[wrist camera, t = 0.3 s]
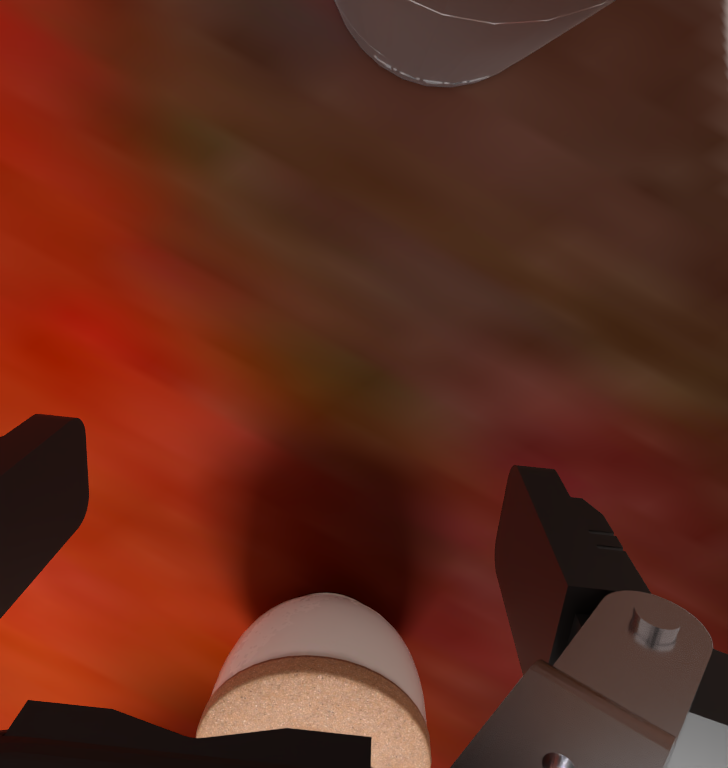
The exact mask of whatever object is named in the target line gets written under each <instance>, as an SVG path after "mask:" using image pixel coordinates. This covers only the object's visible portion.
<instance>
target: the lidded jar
mask: <svg viewBox="0 0 728 768" xmlns="http://www.w3.org/2000/svg"><path fill="white" fill-rule="evenodd" d="M282 728H293V729H302V730H311V731H321V732H330V733H339V734H349V735H358V736H367V737H372V740H371V767H373V768H431V749H430V738H429V732H428V729H427V725H426V714H425V705H424V697H423V692H422V687H421V683H420V679H419V676H418V673H417V669H416V667H415V664H414V661H413V658H412V656H411V654H410V652H409V650H408V648H407V646H406V644H405V643H404V641H403V639H402V638H401V636H400V635H399V634H398V632H397V631H396V630H395V629H394V627H393V626H392V625H391V624H390V623H389V622H388V621H386V620H385V619H384V618H383V617H382V616H381V615H380V614H379V613H377V612H376V611H374V610H373V609H371V608H370V607H368V606H366V605H363V604H362V603H360V602H359V601H357V600H355V599H353V598H351V597H348V596H345V595H342V594H337V593H327V592H324V593H314V594H308V595H305V596H303V597H298V598H294V599H291V600H288V601H285V602H283V603H281V604H279V605H277V606H275V607H274V608H272V609H270V610H268V611H267V612H266V613H264V614H263V615H262V616H260V617H259V618H258V619H257V620H256V621H255V622H254V623H253V624H252V625H251V626H250V627H249V628H248V629H247V630H246V631H245V632H244V633H243V634H242V635H241V637H240V638H239V640H238V641H237V643H236V644H235V646H234V647H233V649H232V651H231V652H230V654H229V655H228V657H227V659H226V661H225V663H224V665H223V667H222V669H221V671H220V673H219V676H218V678H217V681H216V684H215V686H214V689H213V692H212V694H211V697H210V700H209V701H208V703H207V704H206V707H205V709H204V712H203V714H202V717H201V719H200V722H199V725H198V728H197V731H196V738H206V737H214V736H223V735H231V734H240V733H248V732H257V731H265V730H274V729H282Z"/></svg>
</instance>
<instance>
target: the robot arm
mask: <svg viewBox="0 0 728 768" xmlns="http://www.w3.org/2000/svg"><path fill="white" fill-rule="evenodd" d="M334 1H335V3H336V6H337V8H338V10H339V12H340V14H341V17H342V19H343V21H344V23H345V26H346V27H347V29H348V30H349V32H350V33H351V34H352V36H353V37H354V39H355V40H356V42H357V43H358V44H359V46H360V47H361V49H362V50H364V51H365V52H366V53H367V54H368V55H369V56H370V57H371V58H372V59H373V60H374V61H376V62H377V63H378V64H379V65H380V66H381V67H383V68H385V69H386V70H388V71H390V72H391V73H393V74H395V75H397V76H398V77H400V78H402V79H405V80H408V81H411V82H415V83H418V84H421V85H425V86H436V87H455V86H461V85H467V84H472V83H477V82H479V81H481V80H484V79H487V78H489V77H491V76H493V75H496V74H498V73H500V72H502V71H503V70H505V69H506V68H508V67H510V66H511V65H513V64H514V63H516V62H518V61H520V60H521V59H523V58H525V57H526V56H528V55H530V54H531V53H533V52H534V51H536V50H538V49H539V48H541V47H542V46H544V45H546V44H547V43H549V42H550V41H552V40H553V39H555V38H557V37H558V36H560V35H561V34H563V33H565V32H566V31H568V30H569V29H571V28H572V27H574V26H576V25H577V24H579V23H580V22H582V21H584V20H585V19H587V18H588V17H590V16H592V15H593V14H595V13H596V12H598V11H599V10H601V9H603V8H604V7H606V6H607V5H609V4H611V3H612V2H614V1H615V0H334ZM88 501H89V486H88V468H87V451H86V434H85V427H84V424H83V422H82V421H81V420H80V419H79V418H72V417H62V416H53V415H43V414H35V415H33V416H32V417H30V418H29V419H27V420H26V421H24V422H23V423H22V424H20V425H19V426H17V427H16V428H14V429H13V430H12V431H10V432H9V433H7V434H6V435H4V436H2V437H0V618H1V617H2V616H3V615H4V614H5V613H6V611H7V610H8V609H9V608H10V607H11V606H12V604H13V603H14V602H15V601H16V600H17V599H18V597H19V596H20V595H21V594H22V593H23V592H24V590H25V589H26V588H27V587H28V586H29V585H30V583H31V582H32V581H33V580H34V579H35V578H36V577H37V575H38V574H39V573H40V572H41V571H42V570H43V568H44V567H45V566H46V565H47V564H48V563H49V561H50V560H51V559H52V558H53V557H54V556H55V554H56V553H57V552H58V551H59V550H60V549H61V547H62V546H63V545H64V544H65V543H66V542H67V540H68V539H69V538H70V537H71V536H72V535H73V533H74V532H75V531H76V530H77V529H78V528H79V526H80V525H81V523H82V521H83V519H84V517H85V514H86V511H87V506H88ZM495 569H496V574H497V578H498V582H499V585H500V589H501V593H502V597H503V601H504V604H505V608H506V612H507V616H508V620H509V623H510V627H511V631H512V635H513V639H514V642H515V646H516V650H517V654H518V658H519V661H520V665H521V669H522V673H523V677H522V678H521V679H520V681H519V682H518V683H517V684H516V686H515V687H514V688H513V689H512V691H511V692H510V693H509V695H508V696H507V697H506V698H505V700H504V701H503V702H502V703H501V705H500V706H499V707H498V708H497V710H496V711H495V712H494V713H493V715H492V716H491V717H490V718H489V720H488V721H487V722H486V723H485V725H484V726H483V727H482V728H481V730H480V731H479V732H478V733H477V735H476V736H475V737H474V738H473V740H472V741H471V742H470V744H469V745H468V746H467V747H466V749H465V750H464V751H463V752H462V754H461V755H460V756H459V757H458V759H457V760H456V761H455V762H454V764H453V765H452V766H451V767H450V768H728V654H725V653H722V652H719V651H717V650H715V649H713V644H712V640H711V637H710V635H709V633H708V632H707V630H706V629H705V627H704V626H703V625H702V624H701V623H700V622H699V621H698V620H697V619H696V618H695V617H694V616H693V615H691V614H690V613H689V612H687V611H686V610H684V609H683V608H681V607H680V606H678V605H676V604H674V603H672V602H670V601H668V600H666V599H663V598H661V597H658V596H655V595H652V594H651V593H650V591H649V589H648V588H647V586H646V584H645V583H644V581H643V580H642V578H641V576H640V575H639V573H638V571H637V570H636V568H635V567H634V565H633V563H632V562H631V560H630V558H629V557H628V555H627V553H626V552H625V551H623V547H622V545H621V544H620V542H619V540H618V539H617V537H616V536H614V532H613V531H612V529H611V527H610V526H609V524H608V522H607V521H606V519H605V518H604V516H603V515H602V514H601V513H600V512H599V511H597V510H596V509H595V508H593V507H592V506H591V505H590V504H588V503H587V502H586V501H585V500H583V499H582V498H573V497H570V496H569V494H568V492H567V490H566V488H565V487H564V485H563V483H562V481H561V479H560V477H559V476H558V474H557V472H556V471H555V470H554V469H546V468H536V467H527V466H517V465H514V466H513V467H512V468H511V470H510V473H509V476H508V481H507V486H506V491H505V496H504V501H503V506H502V511H501V516H500V521H499V526H498V531H497V537H496V543H495ZM371 740H372V737H367V736H358V735H349V734H339V733H330V732H321V731H311V730H302V729H293V728H282V729H274V730H265V731H257V732H248V733H240V734H231V735H223V736H214V737H206V738H190V737H186V736H183V735H180V734H178V733H175V732H172V731H170V730H167V729H164V728H162V727H159V726H156V725H154V724H151V723H148V722H146V721H143V720H140V719H137V718H135V717H132V716H129V715H127V714H124V713H121V712H119V711H116V710H113V709H106V708H97V707H88V706H79V705H69V704H60V703H51V702H41V701H32V700H28V701H27V702H26V704H25V705H24V707H23V708H22V710H21V711H20V713H19V714H18V716H17V717H16V719H15V720H14V722H13V723H12V725H11V726H10V728H9V729H8V730H1V731H0V768H373V767H371Z"/></svg>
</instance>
